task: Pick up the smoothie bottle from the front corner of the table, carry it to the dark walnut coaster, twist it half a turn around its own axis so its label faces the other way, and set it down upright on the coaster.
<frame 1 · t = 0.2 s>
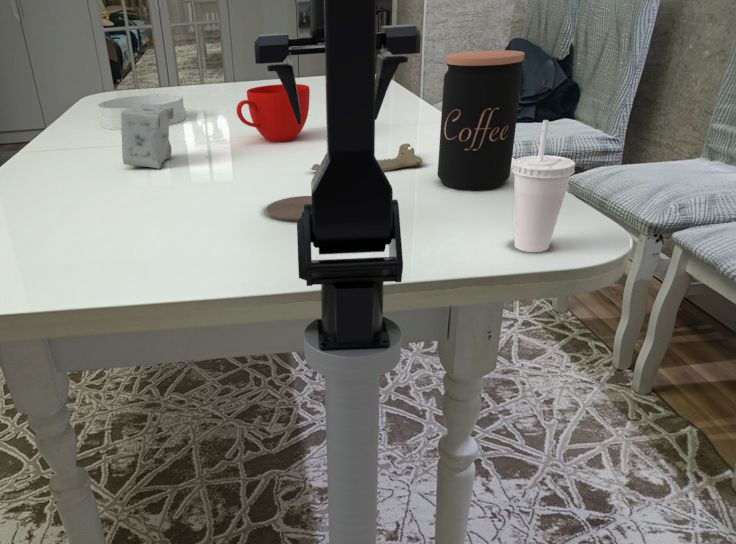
hand: (336, 121, 78), 13 cm above the table, tool pointing down, fingers open, 9 cm apart
coffee jar: (472, 183, 98), on the table
incense holder: (152, 164, 123), on the table
jawbone: (365, 165, 112), on the table
ceramic cup: (273, 141, 135), on the table
dish: (143, 121, 166), on the table
smoothie: (531, 248, 74), on the table
coaster: (304, 209, 91), on the table
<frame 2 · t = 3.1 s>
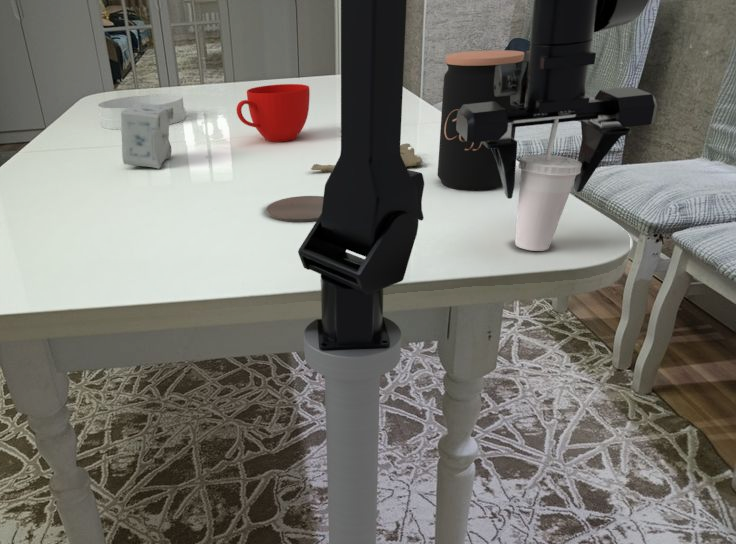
hand: (543, 194, 71), 6 cm above the table, tool pointing down, fingers closed on smoothie, 7 cm apart
smoothie: (531, 247, 74), on the table, touching gripper
everything else where it was.
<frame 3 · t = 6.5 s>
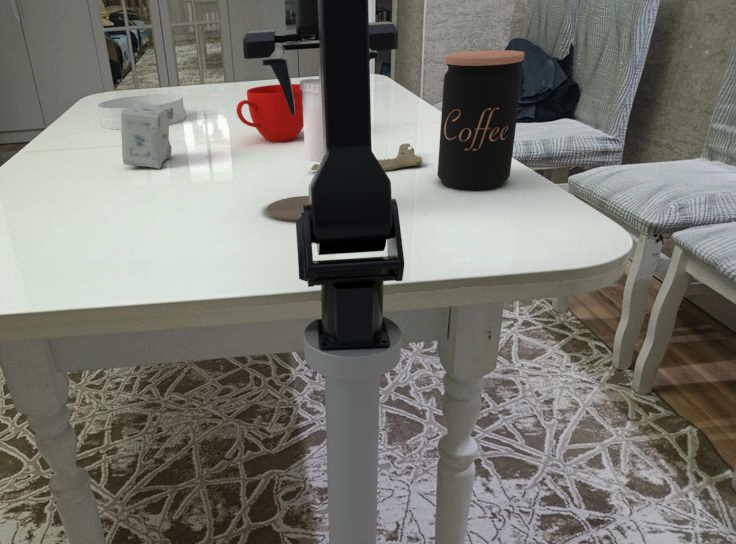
hand: (321, 113, 83), 13 cm above the table, tool pointing down, fingers closed on smoothie, 7 cm apart
smoothie: (318, 160, 86), point 7 cm above the table, touching gripper
everything else where it was.
when the fingers open (6 cm above the table, at t = 10.4 s): smoothie stays where it is, resting on coaster.
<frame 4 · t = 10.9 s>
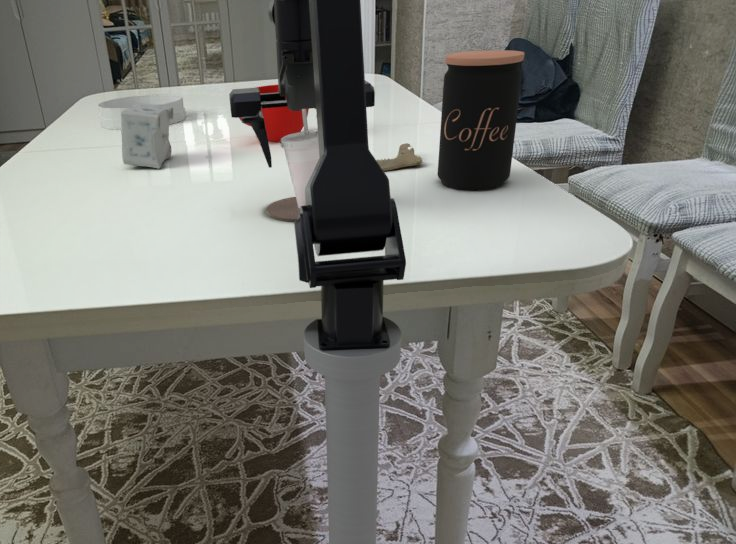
hand: (303, 164, 88), 6 cm above the table, tool pointing down, fingers open, 9 cm apart
smoothie: (311, 206, 91), resting on coaster, touching gripper
everything else where it was.
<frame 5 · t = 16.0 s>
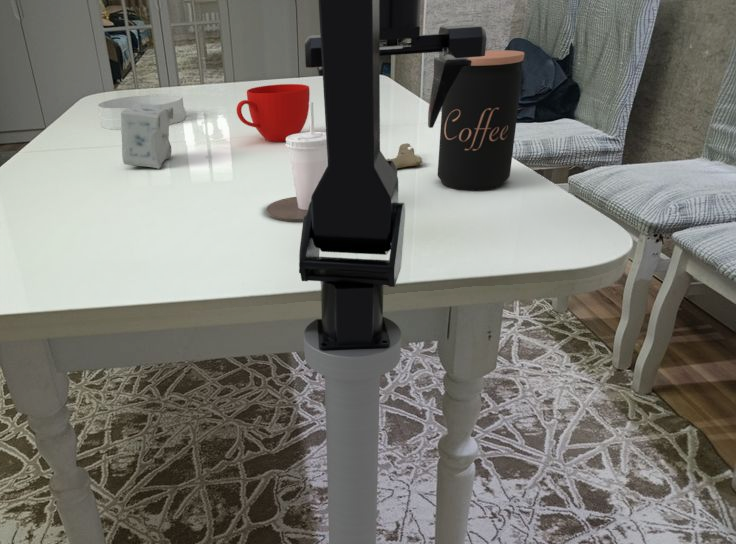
hand: (389, 129, 73), 13 cm above the table, tool pointing down, fingers open, 9 cm apart
smoothie: (311, 207, 91), resting on coaster
everything else where it was.
at the end: smoothie 0.9 cm off-centre on the coaster, point 0.2 cm above the coaster's base; smoothie tilted 0°; the gripper is holding nothing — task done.
